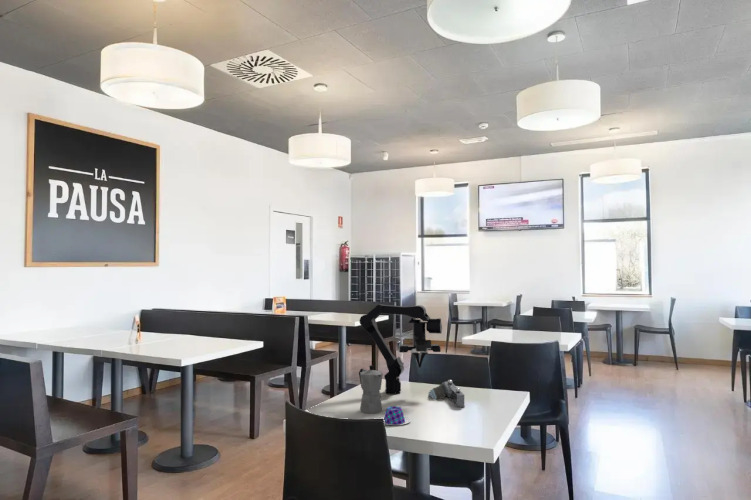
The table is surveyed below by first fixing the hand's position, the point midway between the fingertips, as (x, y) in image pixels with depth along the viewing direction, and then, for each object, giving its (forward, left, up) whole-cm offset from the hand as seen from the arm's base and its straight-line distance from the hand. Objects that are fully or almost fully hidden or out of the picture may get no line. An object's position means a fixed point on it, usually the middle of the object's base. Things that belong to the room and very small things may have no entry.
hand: (419, 367), depth 229 cm
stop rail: (+13, -11, -12) cm, 21 cm away
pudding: (-16, -42, -13) cm, 47 cm away
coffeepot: (-24, -26, -12) cm, 37 cm away
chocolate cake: (+7, -5, -12) cm, 15 cm away
